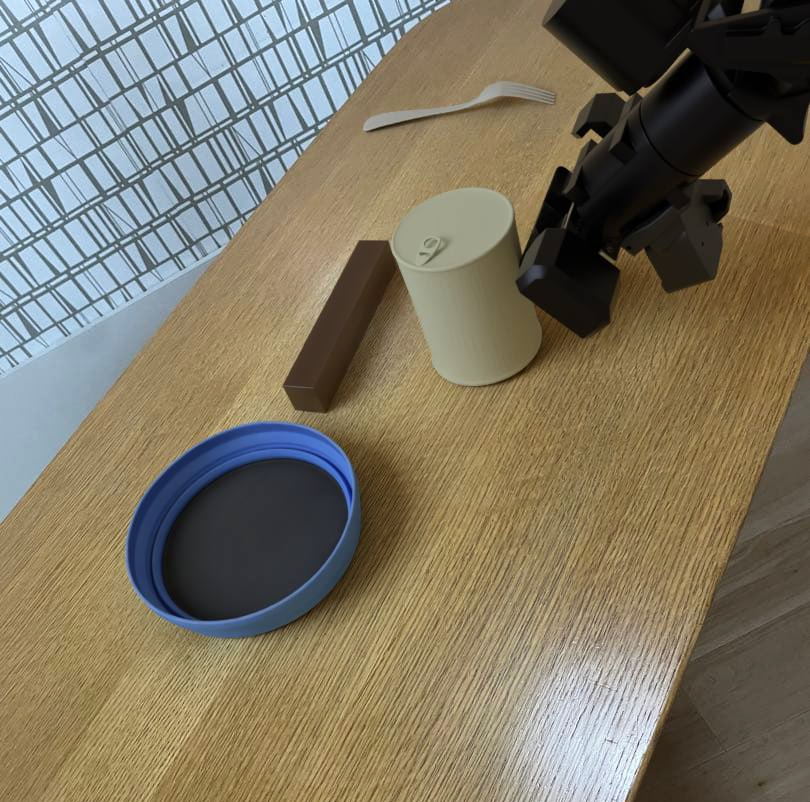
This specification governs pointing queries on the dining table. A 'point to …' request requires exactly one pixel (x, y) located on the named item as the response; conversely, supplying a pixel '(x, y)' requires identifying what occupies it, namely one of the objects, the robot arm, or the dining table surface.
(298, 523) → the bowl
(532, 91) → the fork
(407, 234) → the can
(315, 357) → the rail
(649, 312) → the dining table surface
